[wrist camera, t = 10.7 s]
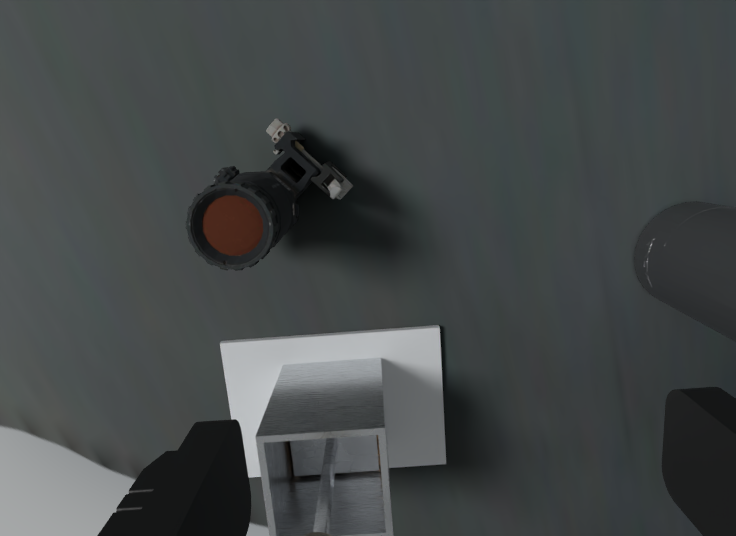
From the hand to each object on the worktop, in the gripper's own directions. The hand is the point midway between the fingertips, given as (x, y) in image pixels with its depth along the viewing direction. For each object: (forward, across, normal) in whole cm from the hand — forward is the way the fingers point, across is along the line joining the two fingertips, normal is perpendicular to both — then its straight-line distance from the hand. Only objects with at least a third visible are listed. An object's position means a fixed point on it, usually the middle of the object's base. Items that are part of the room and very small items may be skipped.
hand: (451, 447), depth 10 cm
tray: (+36, +6, +18) cm, 41 cm away
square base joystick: (+36, +6, +18) cm, 41 cm away
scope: (+36, +9, -2) cm, 37 cm away
